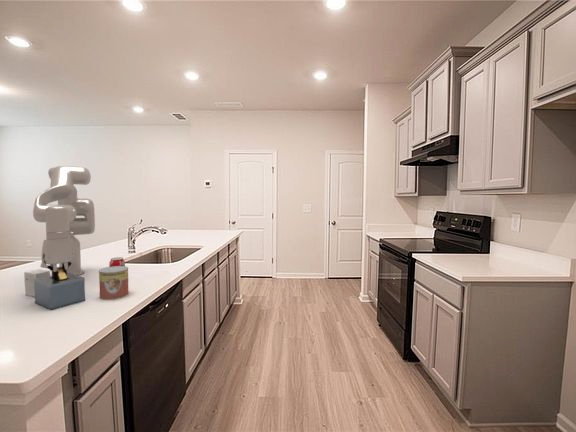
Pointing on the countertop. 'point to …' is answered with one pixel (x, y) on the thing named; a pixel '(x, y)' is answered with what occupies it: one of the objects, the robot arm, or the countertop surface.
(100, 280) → the canned food
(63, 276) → the golden tan rectangular block
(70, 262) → the robot arm
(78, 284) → the grey block
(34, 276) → the small box
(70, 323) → the countertop surface
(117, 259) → the soda can
